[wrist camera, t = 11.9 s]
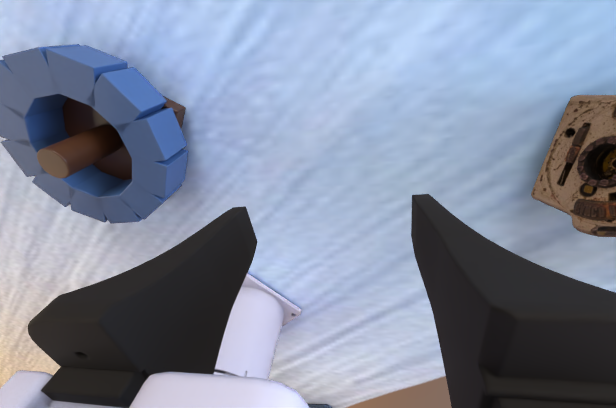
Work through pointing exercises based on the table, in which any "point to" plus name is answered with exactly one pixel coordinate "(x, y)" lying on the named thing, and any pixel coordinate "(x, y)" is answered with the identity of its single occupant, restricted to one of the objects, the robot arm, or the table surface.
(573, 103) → the mechanical counter
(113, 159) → the brown peg stand
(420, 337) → the table surface
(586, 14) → the table surface
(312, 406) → the vaping device
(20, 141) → the ring
